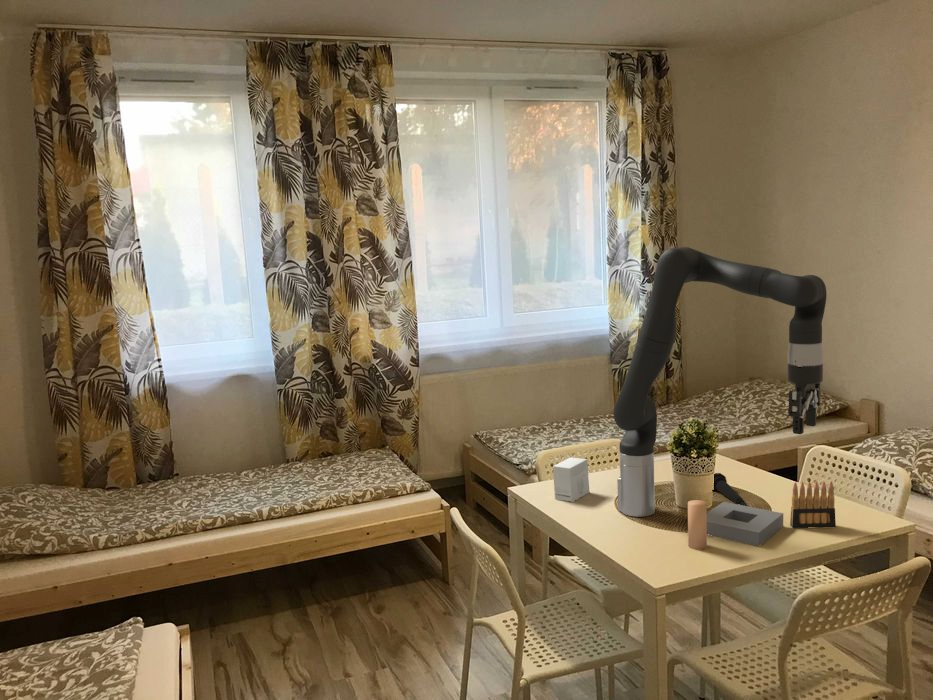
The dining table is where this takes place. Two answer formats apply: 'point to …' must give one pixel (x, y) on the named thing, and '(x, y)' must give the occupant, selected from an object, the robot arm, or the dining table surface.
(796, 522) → the ammunition clip
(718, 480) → the microphone
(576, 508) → the dining table surface
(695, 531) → the peg
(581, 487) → the skincare box
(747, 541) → the socket block
